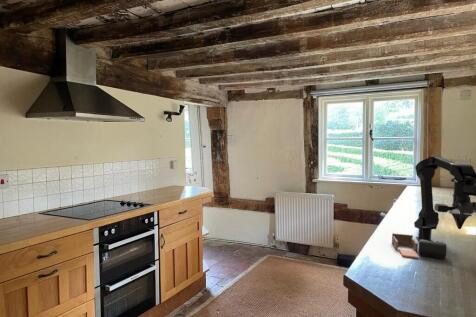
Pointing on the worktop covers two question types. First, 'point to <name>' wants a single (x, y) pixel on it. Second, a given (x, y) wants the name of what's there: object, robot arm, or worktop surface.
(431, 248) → the end cap
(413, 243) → the brown wooden open frame
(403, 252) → the salmon pink flat panel
